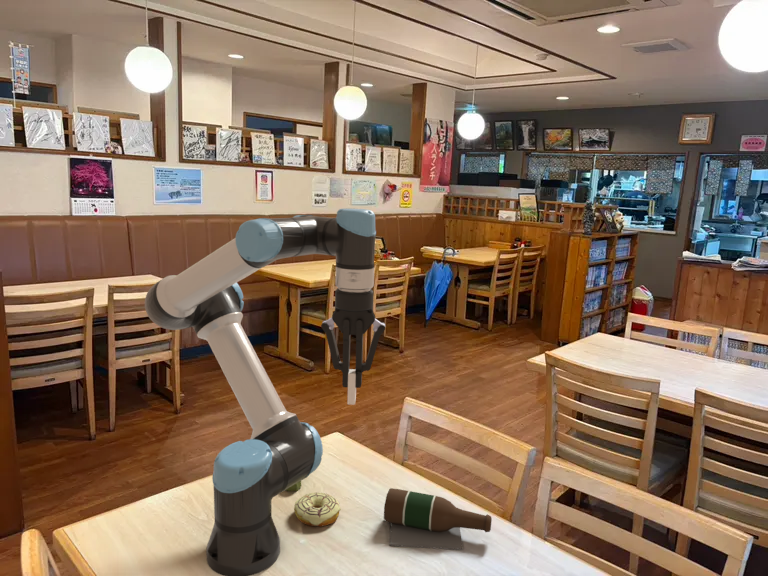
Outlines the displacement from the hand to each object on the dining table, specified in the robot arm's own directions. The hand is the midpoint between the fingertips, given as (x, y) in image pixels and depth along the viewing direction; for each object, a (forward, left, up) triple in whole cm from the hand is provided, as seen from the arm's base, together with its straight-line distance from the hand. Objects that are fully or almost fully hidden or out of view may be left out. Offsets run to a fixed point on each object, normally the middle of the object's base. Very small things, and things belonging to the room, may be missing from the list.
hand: (351, 401), depth 114 cm
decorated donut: (-9, +13, -35) cm, 38 cm away
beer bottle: (+8, +12, -30) cm, 34 cm away
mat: (+17, +9, -34) cm, 39 cm away
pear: (-17, +27, -35) cm, 47 cm away
